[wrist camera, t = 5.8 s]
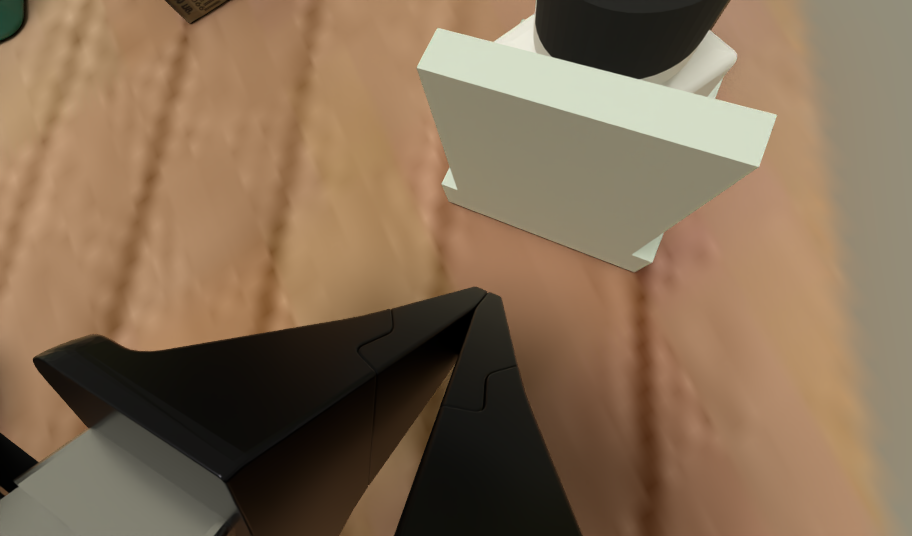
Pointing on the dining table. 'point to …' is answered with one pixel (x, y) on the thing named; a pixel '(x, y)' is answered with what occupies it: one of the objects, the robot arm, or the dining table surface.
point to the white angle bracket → (581, 146)
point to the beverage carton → (193, 7)
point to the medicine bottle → (632, 39)
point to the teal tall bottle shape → (10, 17)
